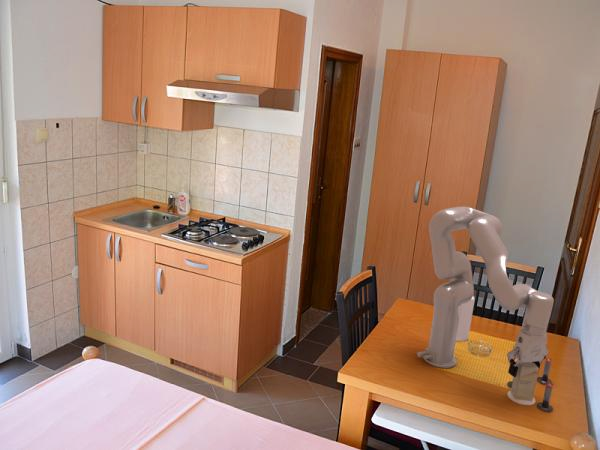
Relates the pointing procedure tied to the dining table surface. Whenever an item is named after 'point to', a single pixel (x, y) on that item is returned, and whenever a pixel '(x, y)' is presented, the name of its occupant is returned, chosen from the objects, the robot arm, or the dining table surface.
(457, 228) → the robot arm
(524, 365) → the skincare box
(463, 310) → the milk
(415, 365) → the dining table surface
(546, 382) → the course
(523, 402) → the pad
